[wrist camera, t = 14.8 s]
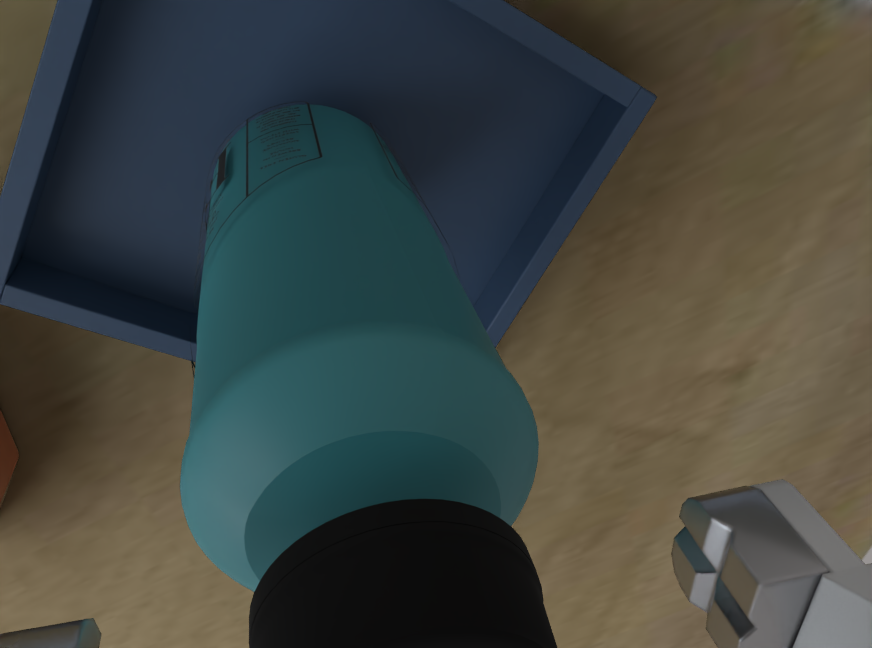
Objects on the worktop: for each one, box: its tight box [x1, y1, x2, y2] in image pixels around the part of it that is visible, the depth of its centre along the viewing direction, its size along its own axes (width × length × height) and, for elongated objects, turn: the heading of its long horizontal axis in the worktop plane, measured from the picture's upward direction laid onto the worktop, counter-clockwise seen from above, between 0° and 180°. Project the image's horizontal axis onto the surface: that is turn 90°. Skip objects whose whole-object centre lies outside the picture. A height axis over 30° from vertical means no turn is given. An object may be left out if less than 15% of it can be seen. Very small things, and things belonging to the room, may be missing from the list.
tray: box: [0, 0, 657, 362], centre depth 25 cm, size 18×16×3 cm
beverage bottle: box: [180, 102, 557, 648], centre depth 17 cm, size 6×7×20 cm
